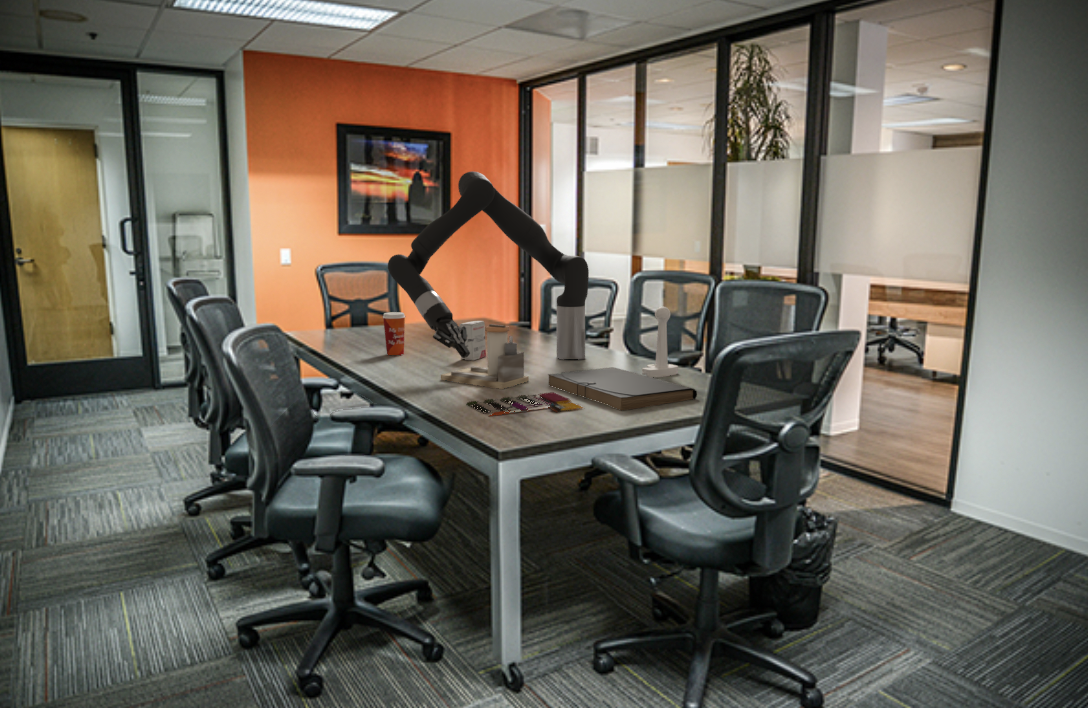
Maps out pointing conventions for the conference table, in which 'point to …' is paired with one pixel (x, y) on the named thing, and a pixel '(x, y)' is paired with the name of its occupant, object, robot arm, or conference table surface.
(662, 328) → the joystick
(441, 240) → the robot arm
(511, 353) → the potentiometer
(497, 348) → the lidded white jar
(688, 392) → the brown book
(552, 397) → the colourful patterned flat panel
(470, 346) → the ink box
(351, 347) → the conference table surface
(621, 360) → the conference table surface
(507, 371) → the maple mount
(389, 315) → the paper cup
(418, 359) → the conference table surface
